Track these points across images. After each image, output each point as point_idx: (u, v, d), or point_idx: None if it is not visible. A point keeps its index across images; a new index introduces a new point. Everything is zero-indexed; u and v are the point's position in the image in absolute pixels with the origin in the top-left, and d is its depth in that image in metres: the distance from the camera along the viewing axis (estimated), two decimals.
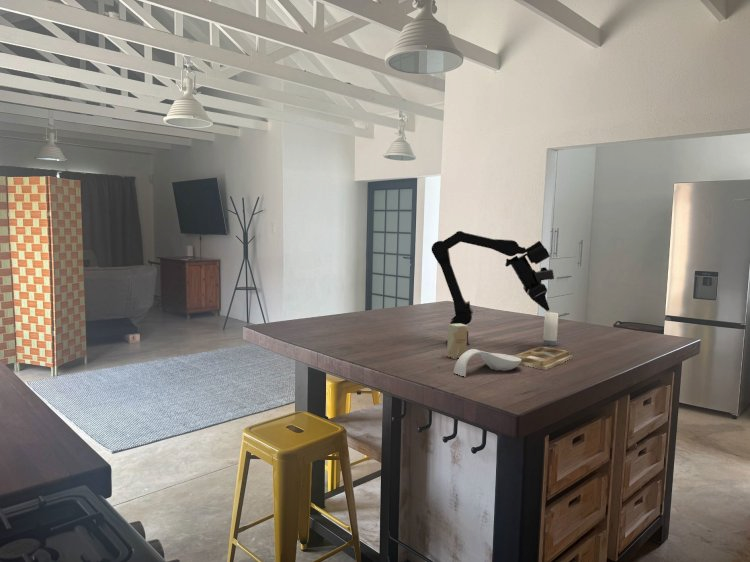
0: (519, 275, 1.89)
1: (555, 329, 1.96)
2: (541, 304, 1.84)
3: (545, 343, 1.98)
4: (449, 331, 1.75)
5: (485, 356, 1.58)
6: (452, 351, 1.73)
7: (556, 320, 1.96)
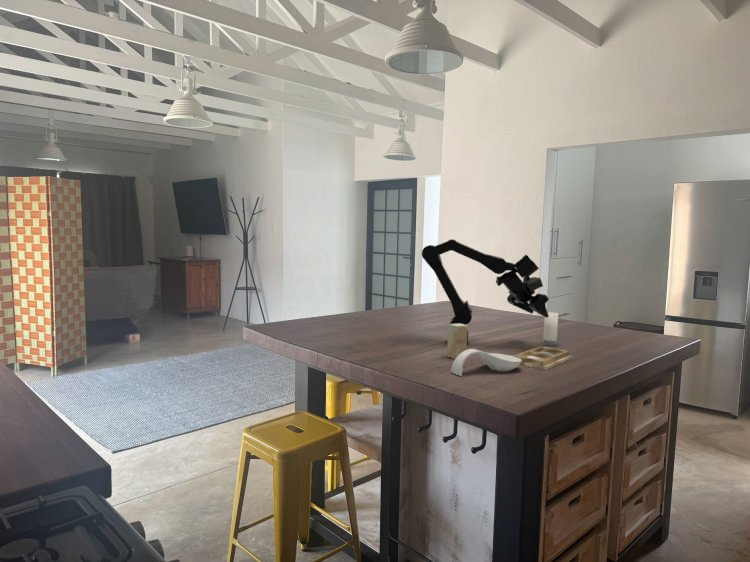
0: (514, 291, 1.90)
1: (555, 329, 1.96)
2: (542, 313, 1.90)
3: (545, 343, 1.98)
4: (449, 331, 1.75)
5: (483, 356, 1.58)
6: (452, 351, 1.73)
7: (556, 320, 1.96)
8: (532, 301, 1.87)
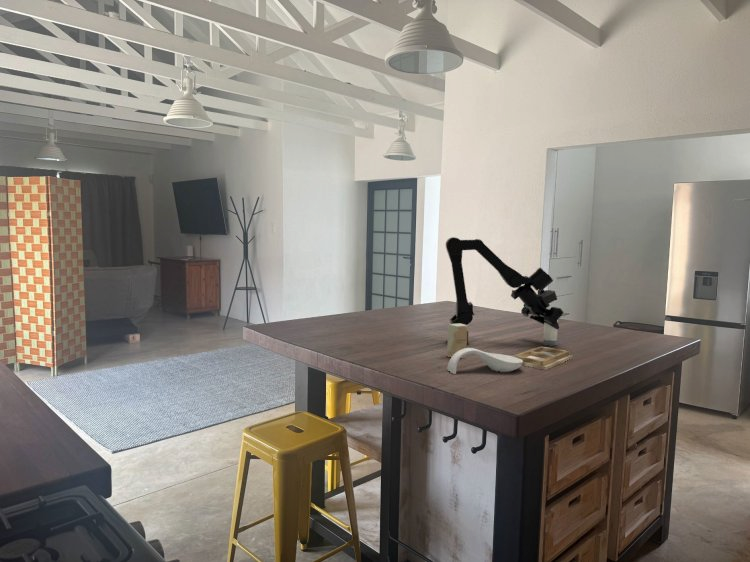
0: (529, 304, 1.92)
1: (555, 329, 1.96)
2: (553, 325, 1.94)
3: (545, 343, 1.98)
4: (449, 331, 1.75)
5: (480, 355, 1.58)
6: (452, 351, 1.73)
7: None
8: (547, 314, 1.89)
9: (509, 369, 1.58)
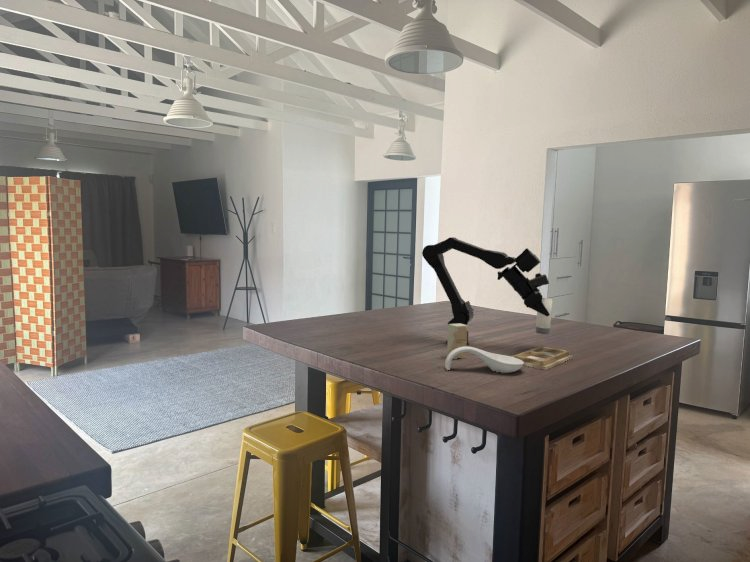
0: (513, 286, 1.86)
1: (545, 316, 1.83)
2: (540, 311, 1.82)
3: (536, 330, 1.86)
4: (449, 331, 1.75)
5: (477, 354, 1.59)
6: None
7: (547, 306, 1.83)
8: (525, 297, 1.80)
9: (505, 370, 1.57)
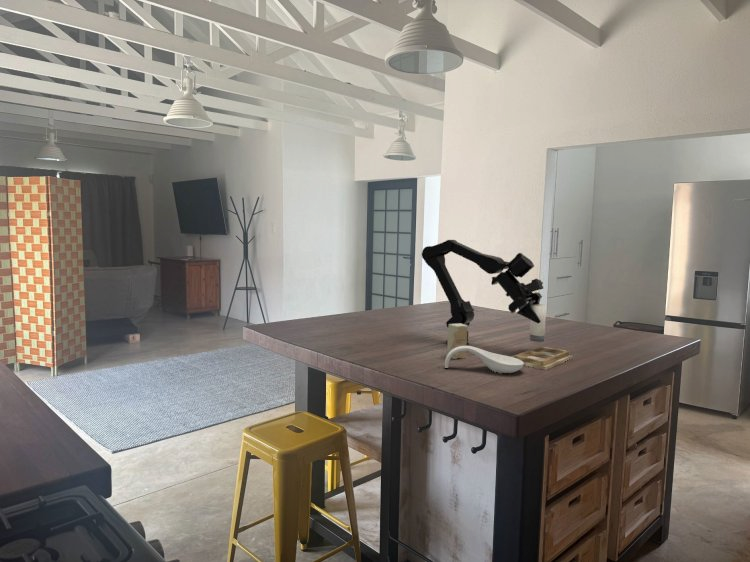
0: (506, 291, 1.83)
1: (536, 323, 1.77)
2: (530, 317, 1.77)
3: None
4: (449, 331, 1.75)
5: (476, 354, 1.60)
6: None
7: (538, 313, 1.76)
8: None
9: (503, 371, 1.56)
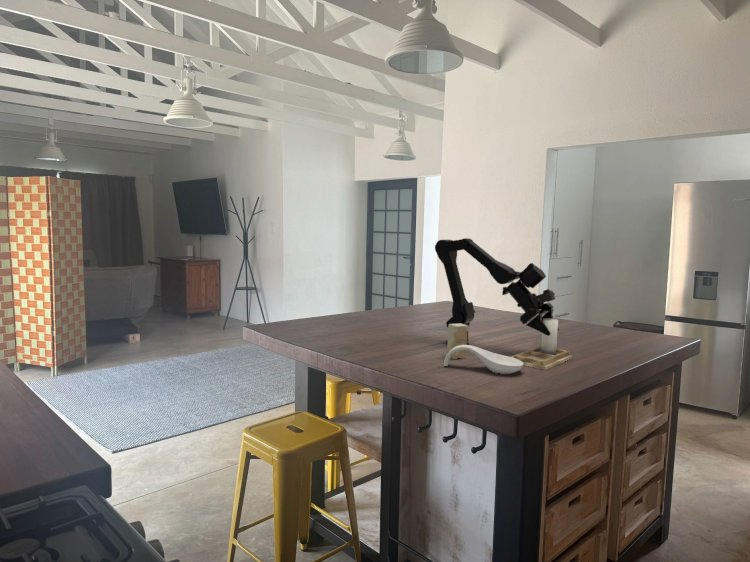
0: (517, 302, 1.81)
1: (548, 338, 1.75)
2: (539, 329, 1.73)
3: None
4: (449, 331, 1.75)
5: (474, 353, 1.61)
6: None
7: (549, 328, 1.74)
8: None
9: (500, 371, 1.56)
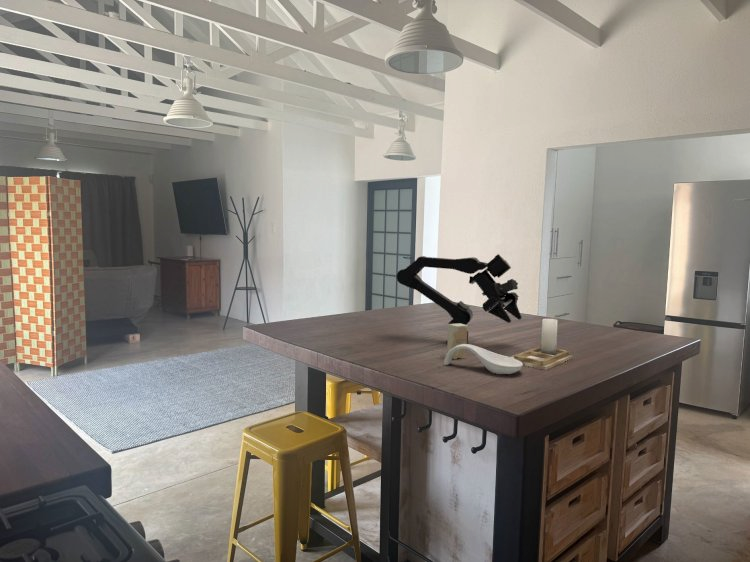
0: (482, 290, 1.91)
1: (548, 337, 1.75)
2: (501, 316, 1.82)
3: None
4: (449, 331, 1.75)
5: (474, 353, 1.61)
6: None
7: (549, 327, 1.75)
8: None
9: (496, 371, 1.55)
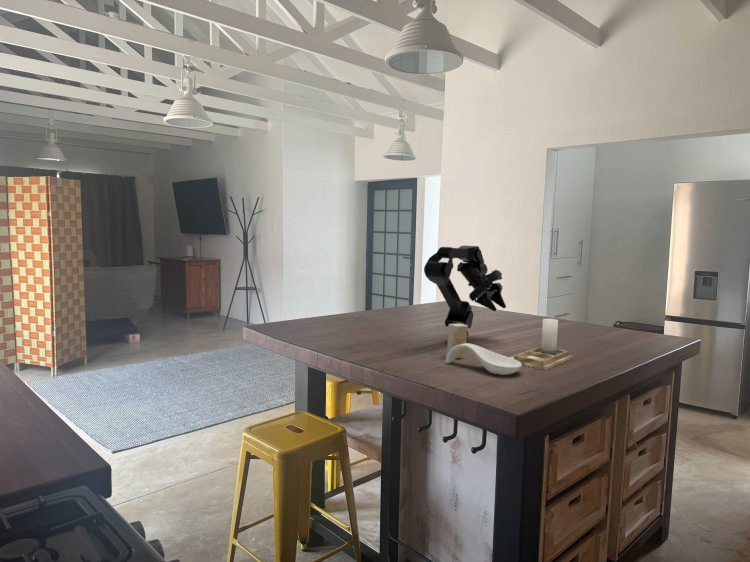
0: (468, 281, 1.99)
1: (548, 337, 1.75)
2: (487, 305, 1.91)
3: None
4: (449, 331, 1.75)
5: None
6: None
7: (549, 327, 1.74)
8: None
9: (493, 371, 1.55)
